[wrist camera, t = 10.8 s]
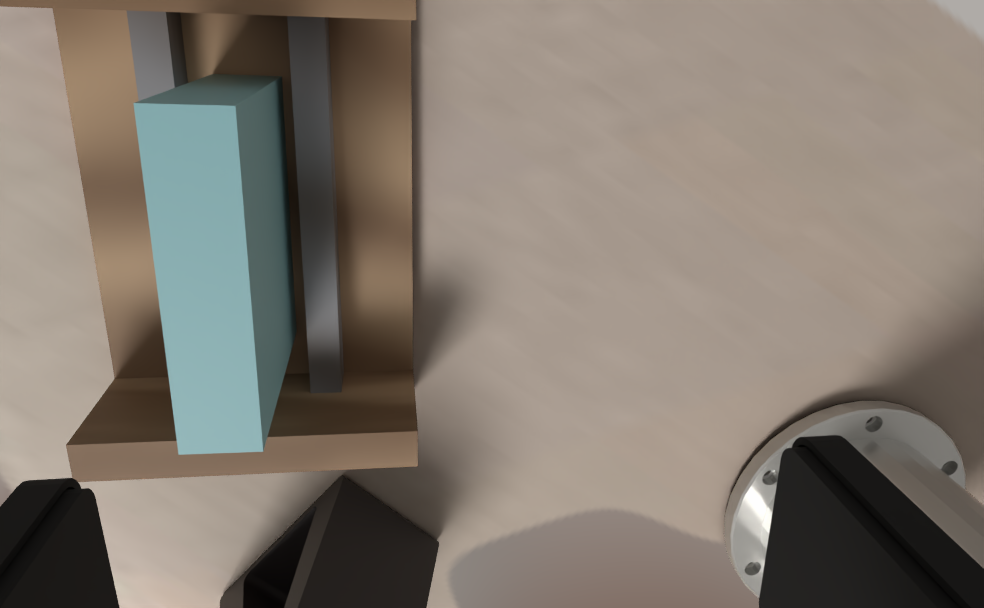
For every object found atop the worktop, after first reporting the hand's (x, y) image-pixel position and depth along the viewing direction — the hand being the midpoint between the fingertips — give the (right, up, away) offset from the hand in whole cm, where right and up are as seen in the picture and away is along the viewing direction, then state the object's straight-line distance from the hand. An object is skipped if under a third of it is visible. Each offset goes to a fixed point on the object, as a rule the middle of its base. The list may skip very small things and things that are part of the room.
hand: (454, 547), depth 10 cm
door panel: (-8, +7, +18) cm, 21 cm away
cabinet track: (-9, +7, +19) cm, 22 cm away
